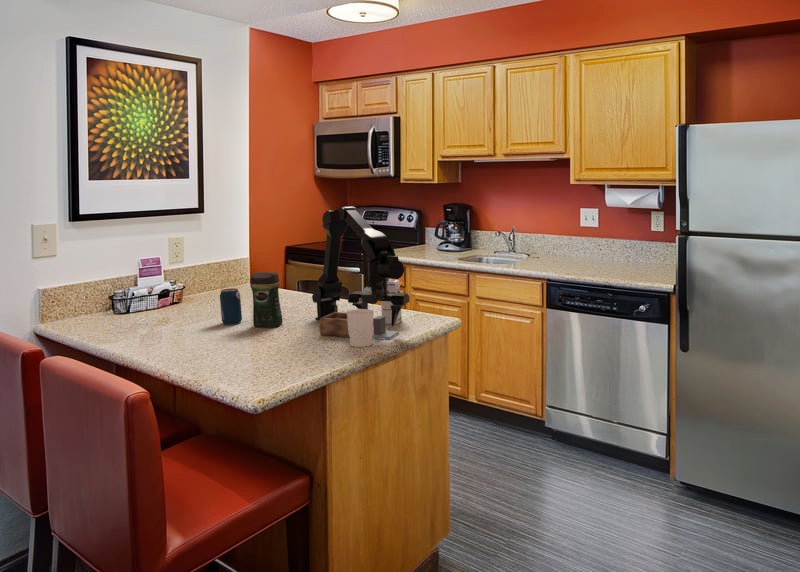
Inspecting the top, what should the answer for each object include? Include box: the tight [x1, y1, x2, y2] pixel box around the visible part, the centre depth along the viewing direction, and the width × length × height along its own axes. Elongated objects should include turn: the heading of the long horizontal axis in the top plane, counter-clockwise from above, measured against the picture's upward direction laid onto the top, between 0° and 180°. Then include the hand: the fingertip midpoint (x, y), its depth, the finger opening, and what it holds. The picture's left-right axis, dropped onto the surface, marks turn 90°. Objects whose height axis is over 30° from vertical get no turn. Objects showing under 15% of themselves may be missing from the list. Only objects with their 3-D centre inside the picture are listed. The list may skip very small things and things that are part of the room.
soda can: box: [219, 287, 243, 326], centre depth 216 cm, size 7×7×12 cm
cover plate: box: [373, 315, 400, 340], centre depth 192 cm, size 10×7×6 cm
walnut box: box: [319, 311, 349, 338], centre depth 197 cm, size 12×10×6 cm
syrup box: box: [380, 278, 402, 325], centre depth 209 cm, size 6×6×14 cm
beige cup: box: [346, 308, 374, 348], centre depth 182 cm, size 8×8×10 cm
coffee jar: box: [249, 271, 283, 328], centre depth 210 cm, size 10×8×19 cm
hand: (379, 325), depth 192 cm, fingers open, 9 cm apart
